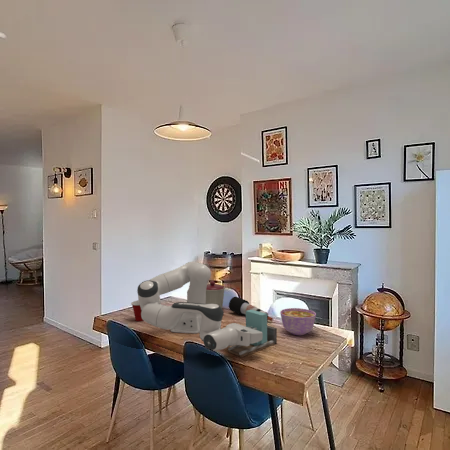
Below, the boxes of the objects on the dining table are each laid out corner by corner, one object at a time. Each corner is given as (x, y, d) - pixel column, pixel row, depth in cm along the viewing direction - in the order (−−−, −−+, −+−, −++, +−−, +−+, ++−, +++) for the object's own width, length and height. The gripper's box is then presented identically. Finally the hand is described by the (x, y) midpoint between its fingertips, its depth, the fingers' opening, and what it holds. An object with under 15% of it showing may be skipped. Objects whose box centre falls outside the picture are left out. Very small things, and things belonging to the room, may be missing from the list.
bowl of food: (290, 325, 205) (290, 306, 204) (321, 332, 192) (322, 311, 192) (273, 333, 189) (273, 313, 189) (306, 341, 176) (306, 320, 176)
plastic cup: (128, 320, 215) (128, 301, 215) (143, 316, 222) (143, 298, 222) (136, 324, 207) (135, 304, 207) (151, 320, 214) (151, 301, 214)
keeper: (261, 348, 164) (261, 315, 164) (245, 342, 173) (245, 311, 172) (267, 345, 168) (267, 313, 168) (251, 339, 176) (251, 309, 176)
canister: (216, 306, 250) (216, 278, 249) (230, 311, 235) (230, 281, 234) (195, 309, 239) (194, 280, 239) (208, 315, 224) (208, 284, 224)
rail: (240, 357, 157) (240, 340, 157) (227, 351, 163) (227, 335, 163) (276, 343, 174) (276, 328, 174) (263, 339, 181) (263, 324, 181)
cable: (268, 330, 208) (264, 318, 204) (231, 313, 233) (227, 302, 229) (278, 320, 213) (274, 308, 209) (240, 305, 238) (237, 293, 234)
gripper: (220, 335, 167) (240, 329, 176) (249, 347, 151) (270, 340, 161) (220, 323, 167) (240, 317, 176) (250, 333, 151) (270, 327, 161)
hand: (254, 328), depth 168 cm, fingers closed, pressing on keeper
